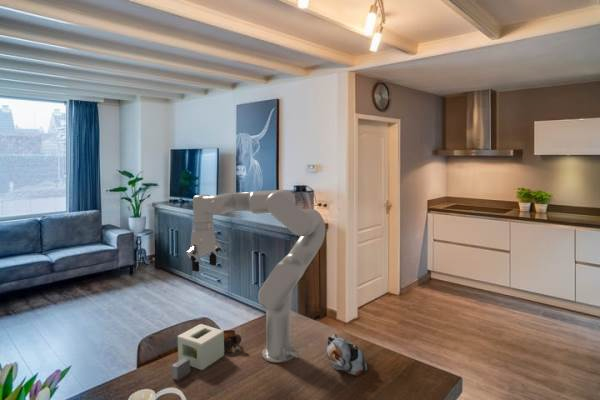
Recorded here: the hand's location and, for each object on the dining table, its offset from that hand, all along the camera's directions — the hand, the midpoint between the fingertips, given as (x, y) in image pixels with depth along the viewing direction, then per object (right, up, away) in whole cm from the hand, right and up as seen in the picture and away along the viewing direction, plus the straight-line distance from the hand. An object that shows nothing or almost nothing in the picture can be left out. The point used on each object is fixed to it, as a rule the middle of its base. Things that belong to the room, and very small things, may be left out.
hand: (204, 267), depth 153 cm
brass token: (+1, -33, -7) cm, 33 cm away
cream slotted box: (+1, -33, -7) cm, 34 cm away
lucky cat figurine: (+55, -35, -14) cm, 67 cm away
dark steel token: (-4, -35, -18) cm, 39 cm away
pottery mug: (+9, -33, +2) cm, 34 cm away
